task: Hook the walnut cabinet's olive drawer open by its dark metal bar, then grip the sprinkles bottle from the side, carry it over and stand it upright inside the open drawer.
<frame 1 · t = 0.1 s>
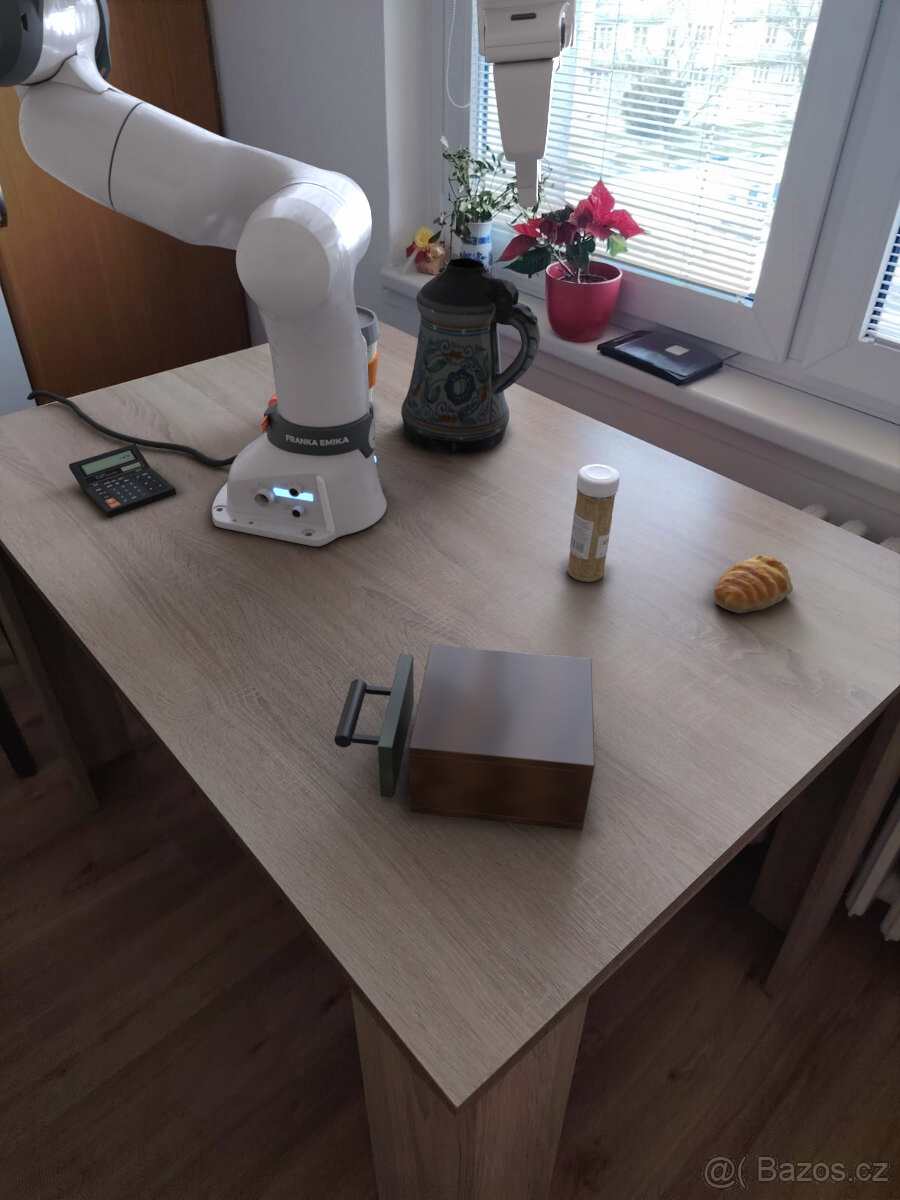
hand: (530, 194, 83), 39 cm above the table, tool pointing down, fingers open, 8 cm apart
reusable coffee cup: (342, 412, 132), on the table
beer stein: (464, 431, 127), on the table
cabinet: (500, 764, 75), on the table
pastry: (750, 596, 95), on the table
drawer: (442, 727, 73), point 4 cm above the table, slide at 1.5 cm
sprinkles bottle: (584, 573, 98), on the table
calculator: (124, 489, 112), on the table
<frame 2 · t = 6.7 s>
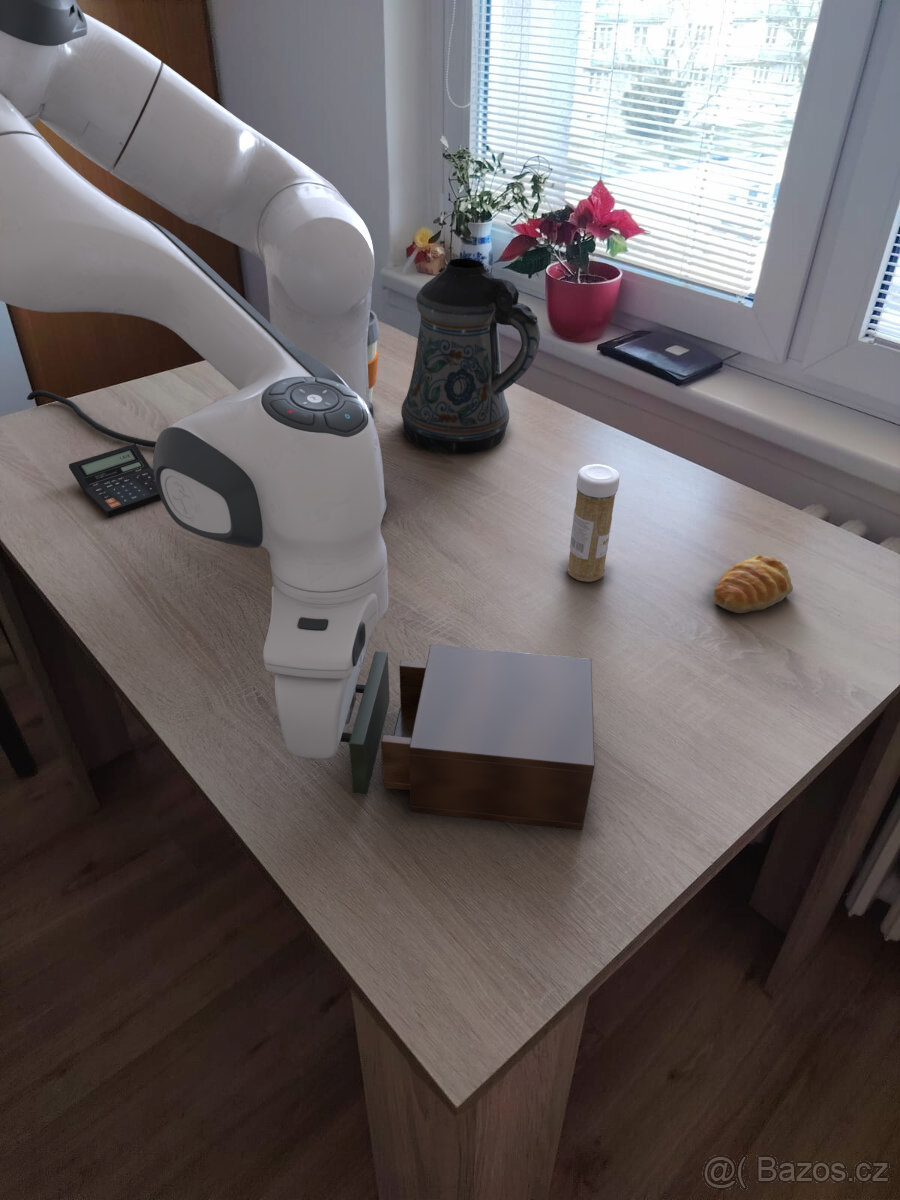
hand: (343, 712, 73), 5 cm above the table, tool pointing down, fingers closed, pressing on drawer
drawer: (416, 724, 73), point 4 cm above the table, slide at 3.9 cm, touching gripper
everything else where it was.
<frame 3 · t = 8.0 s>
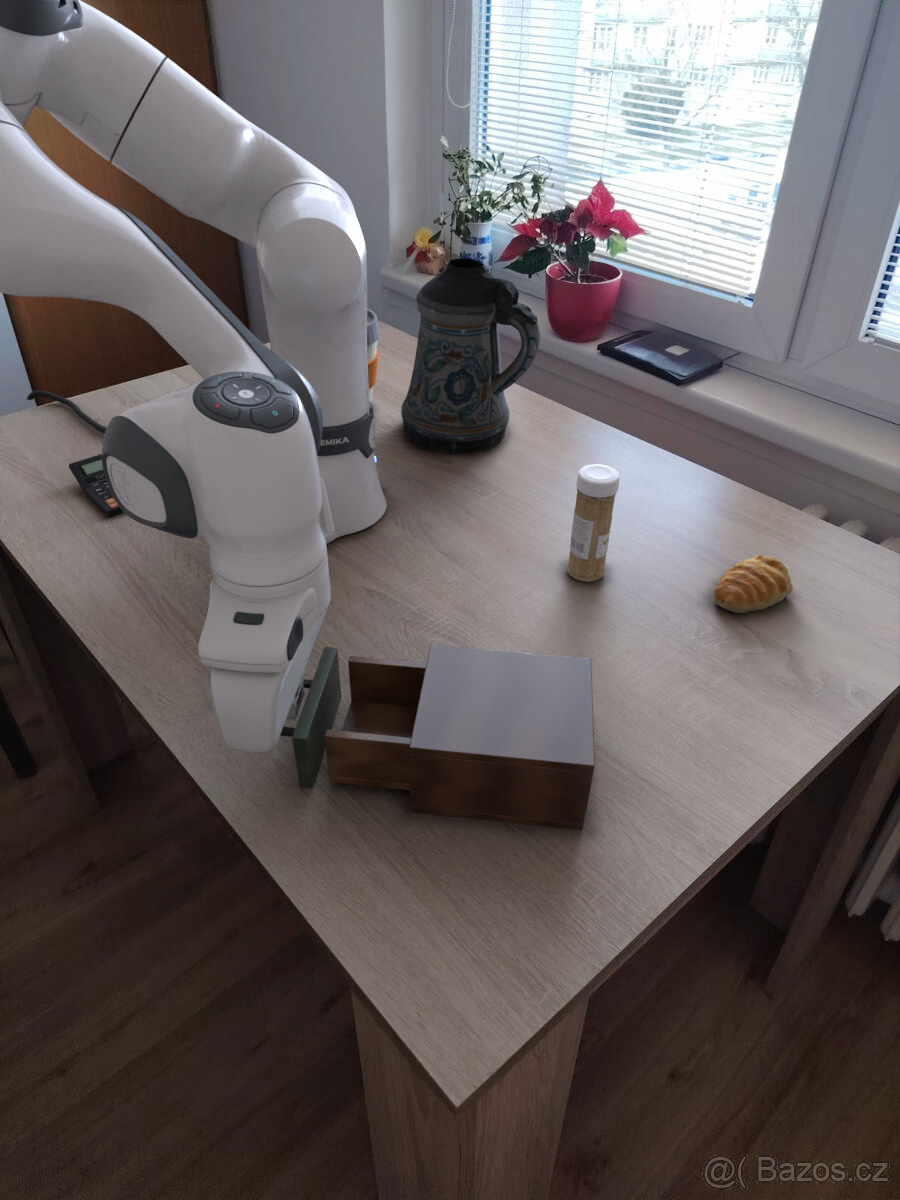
hand: (291, 707, 73), 5 cm above the table, tool pointing down, fingers closed
drawer: (363, 719, 73), point 4 cm above the table, slide at 8.6 cm
everything else where it was.
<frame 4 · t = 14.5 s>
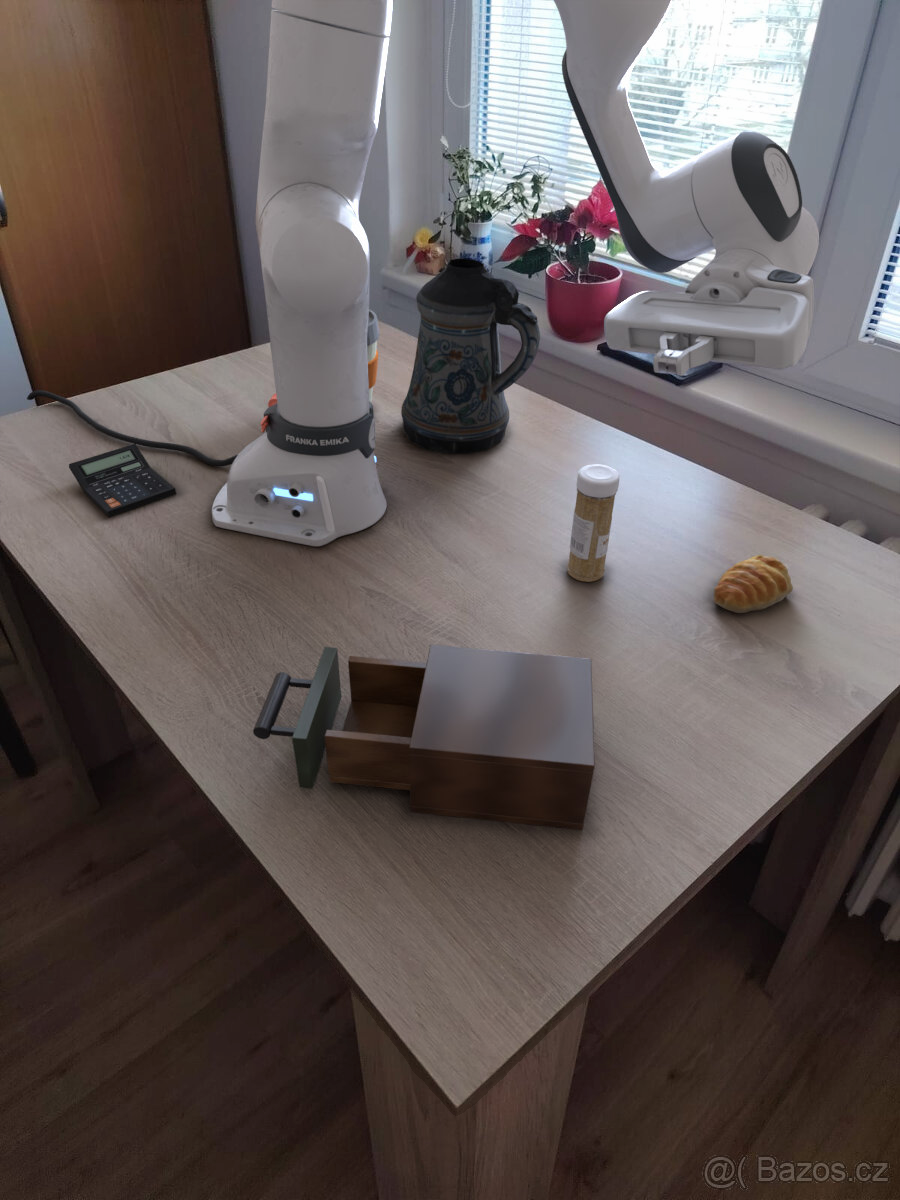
hand: (666, 367, 80), 27 cm above the table, tool horizontal, fingers closed
nothing on the table moved.
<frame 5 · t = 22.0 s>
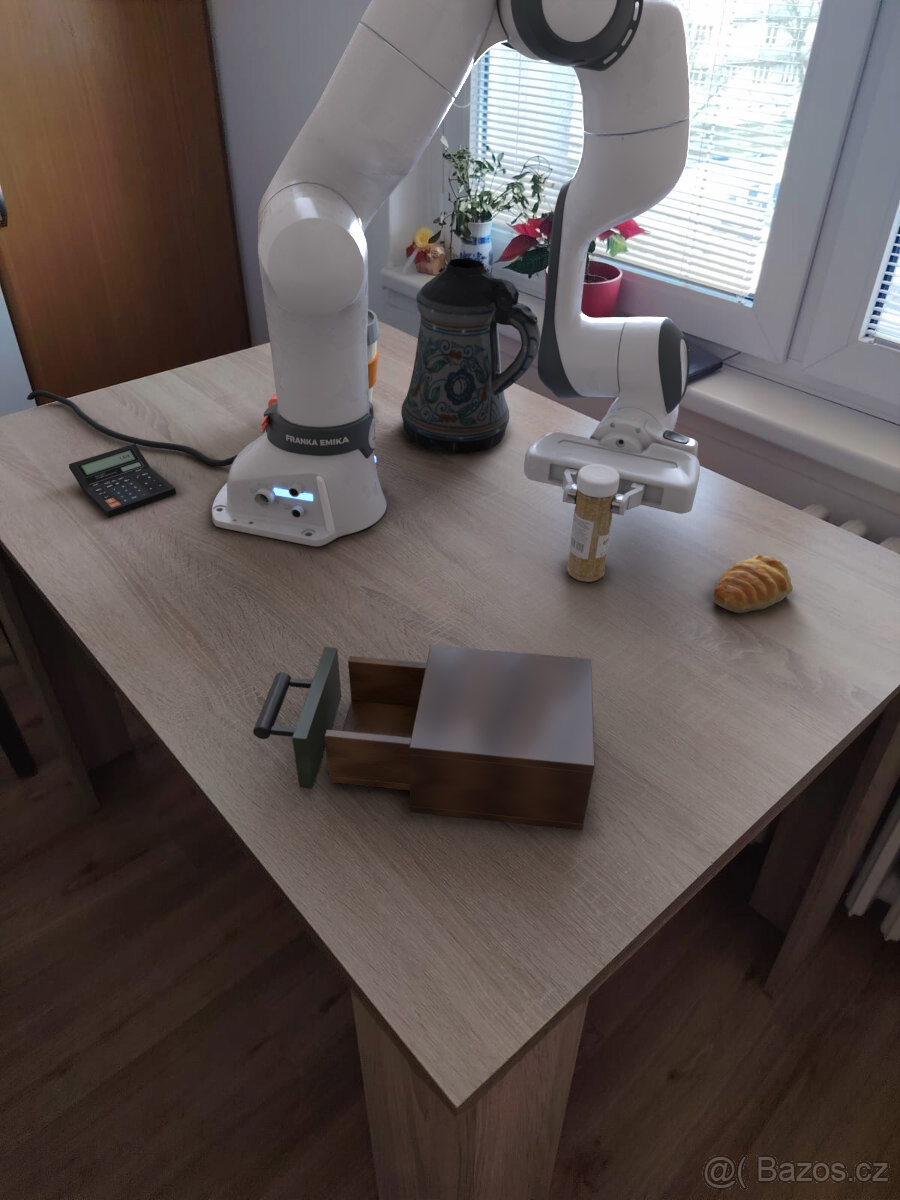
hand: (593, 503, 92), 10 cm above the table, tool horizontal, fingers closed on sprinkles bottle, 4 cm apart
sprinkles bottle: (584, 573, 98), on the table, touching gripper
everything else where it was.
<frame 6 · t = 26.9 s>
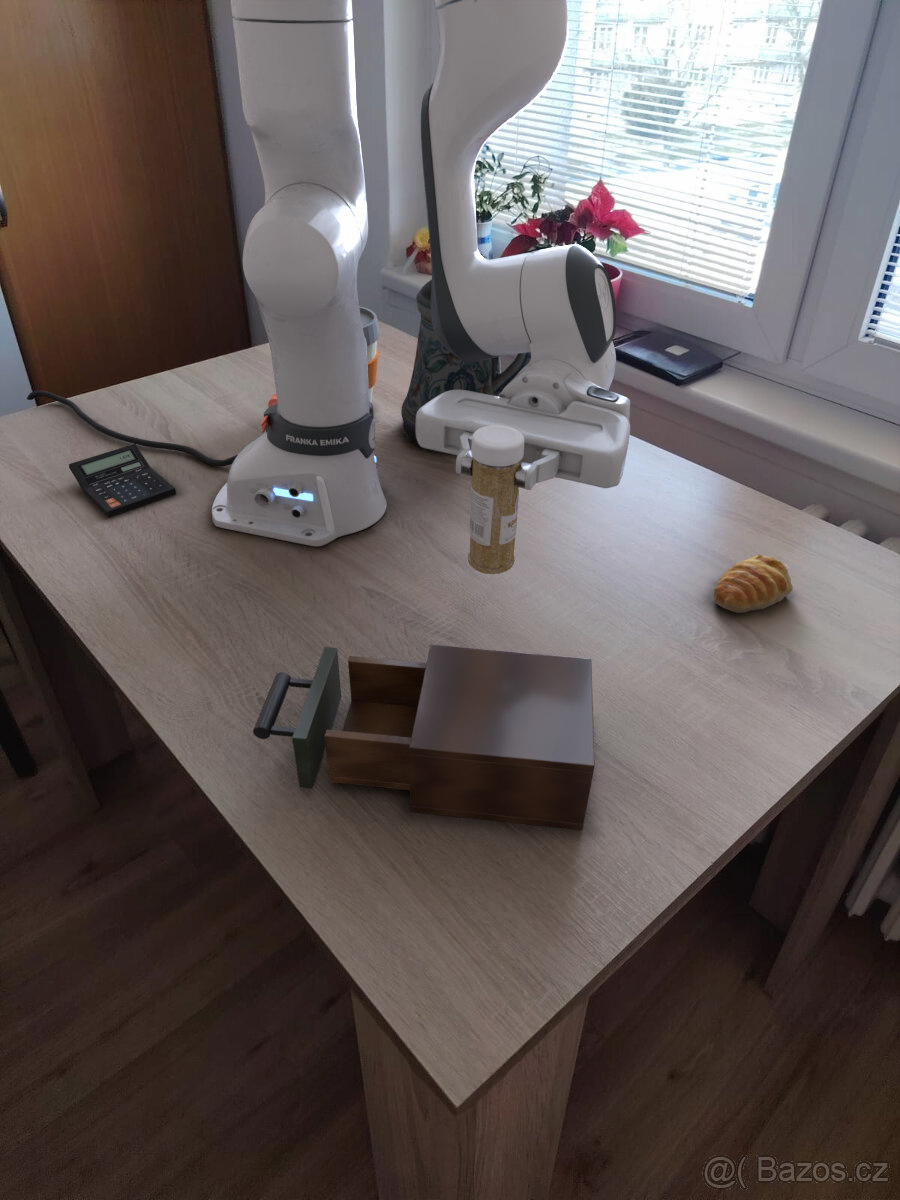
hand: (492, 474, 72), 22 cm above the table, tool horizontal, fingers closed on sprinkles bottle, 4 cm apart
sprinkles bottle: (490, 563, 79), point 12 cm above the table, touching gripper
everything else where it was.
when the fingers open (12 cm above the table, at t = 32.2 s): sprinkles bottle stays where it is, resting on drawer.
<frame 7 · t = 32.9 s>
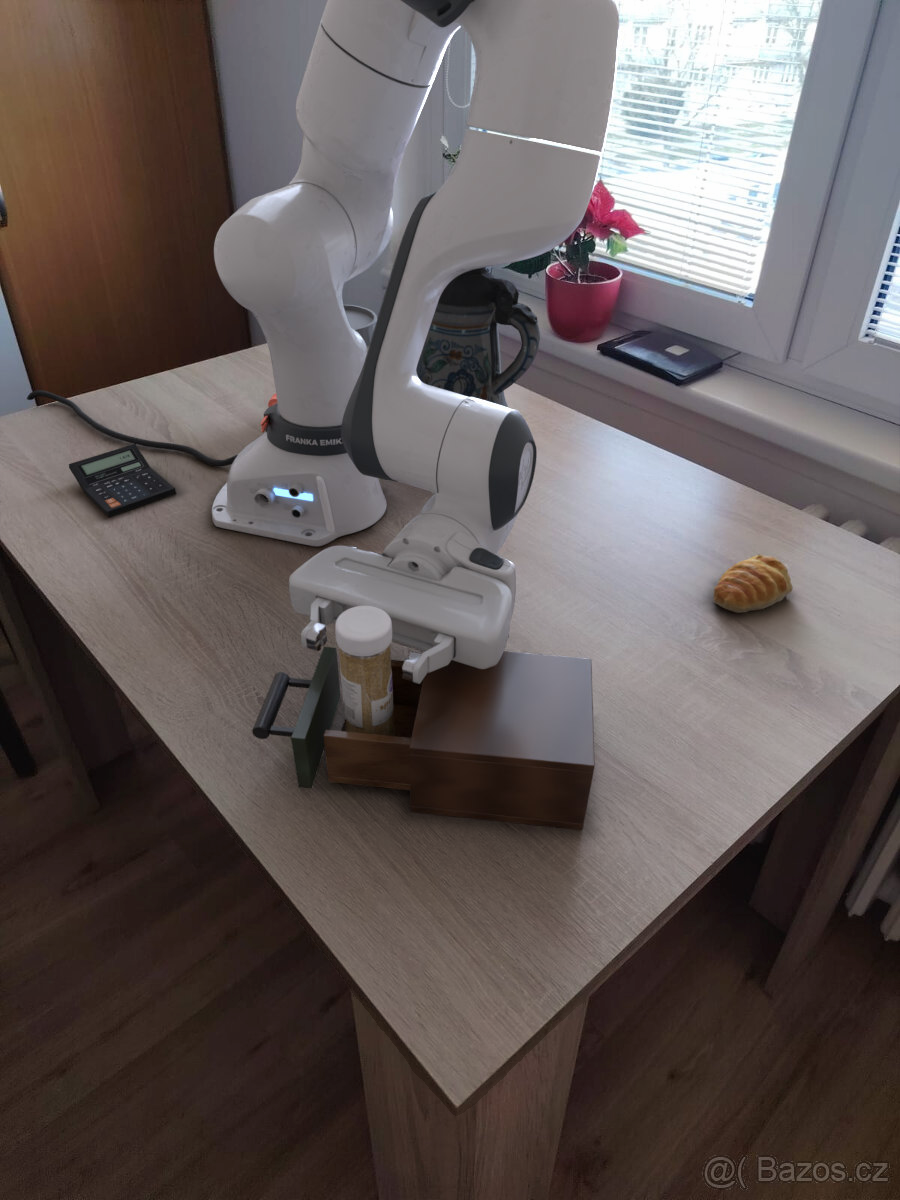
hand: (358, 659, 68), 12 cm above the table, tool horizontal, fingers open, 8 cm apart
drawer: (362, 719, 73), point 4 cm above the table, slide at 8.7 cm, touching sprinkles bottle
sprinkles bottle: (370, 737, 75), point 2 cm above the table, touching drawer
everything else where it was.
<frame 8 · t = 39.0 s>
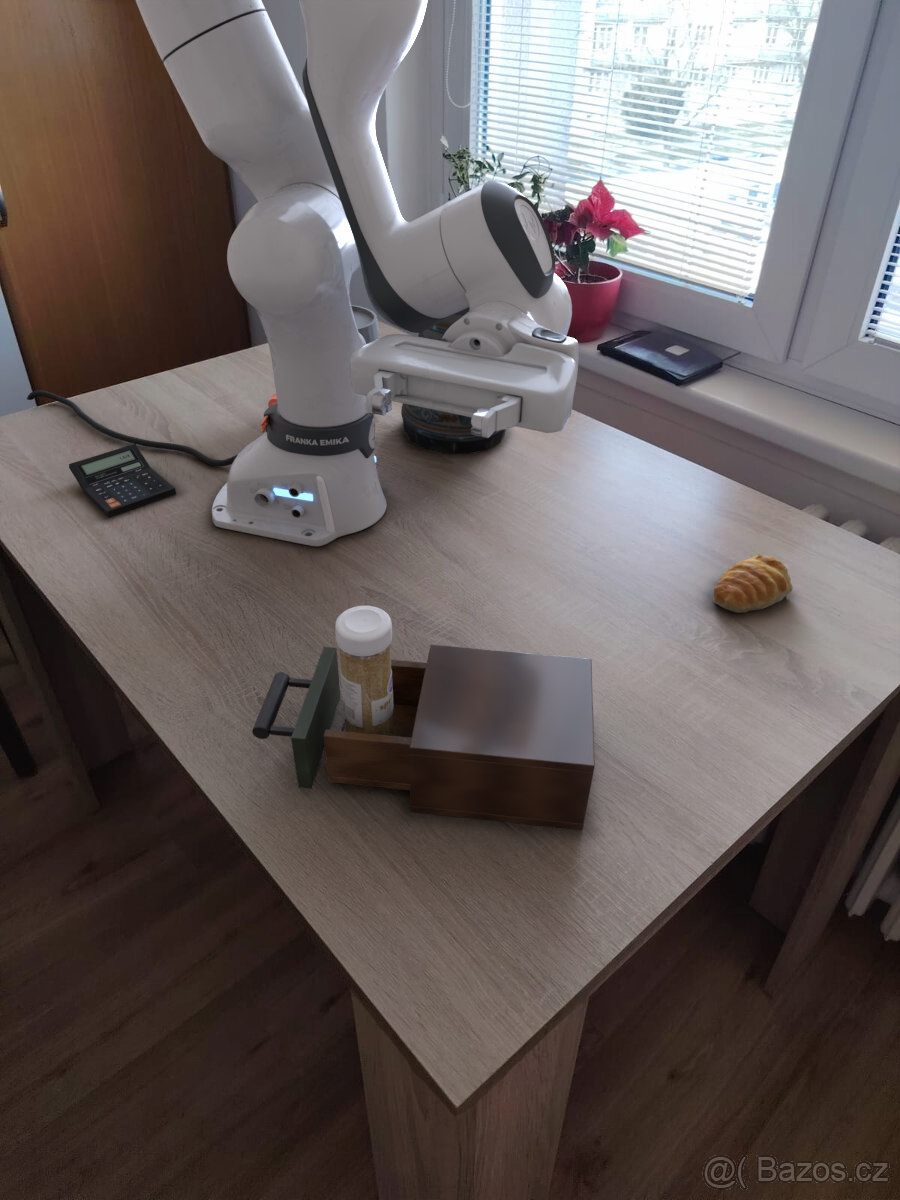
hand: (425, 416, 67), 28 cm above the table, tool horizontal, fingers open, 8 cm apart
nothing on the table moved.
at the end: drawer slide at 8.7 cm; sprinkles bottle inside the target area in the drawer (0.1 cm from its centre), point 1.8 cm above the cabinet's base; sprinkles bottle tilted 0° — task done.
